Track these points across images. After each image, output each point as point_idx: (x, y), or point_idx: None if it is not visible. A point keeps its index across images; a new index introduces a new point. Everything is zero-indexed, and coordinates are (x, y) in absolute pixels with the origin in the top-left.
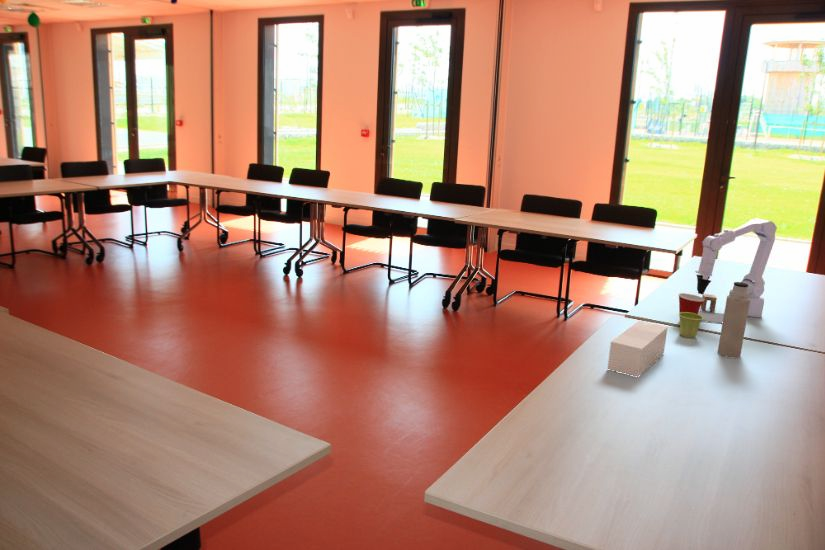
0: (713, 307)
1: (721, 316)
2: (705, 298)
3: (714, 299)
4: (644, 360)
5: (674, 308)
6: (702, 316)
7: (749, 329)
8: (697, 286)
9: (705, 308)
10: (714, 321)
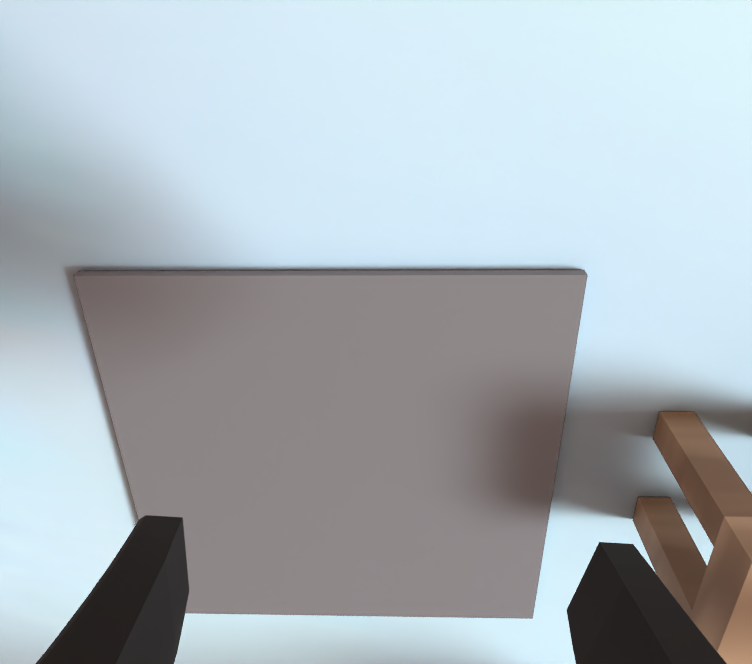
0: (652, 544)
1: (405, 547)
2: (733, 548)
3: None
4: None
5: (686, 5)
6: (304, 360)
7: None
8: (646, 632)
9: (663, 455)
10: (142, 450)
